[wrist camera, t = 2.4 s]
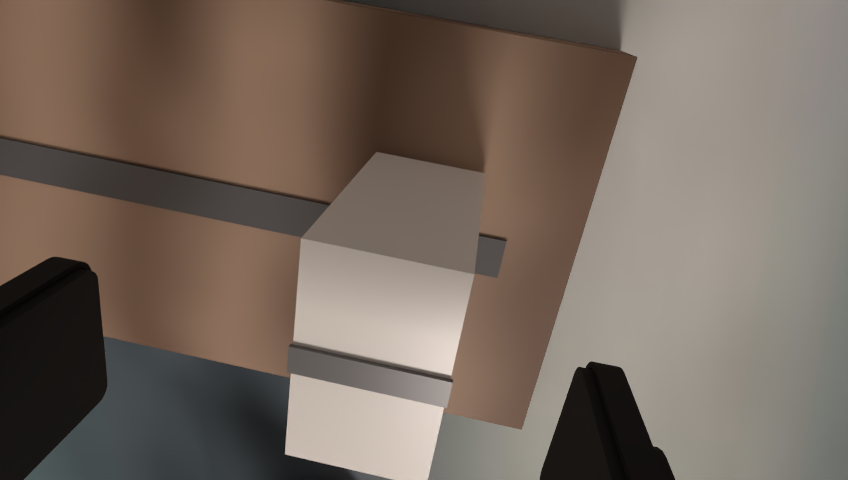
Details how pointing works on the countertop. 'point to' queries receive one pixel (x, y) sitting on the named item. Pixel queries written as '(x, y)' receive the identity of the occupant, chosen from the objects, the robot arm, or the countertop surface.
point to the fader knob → (382, 316)
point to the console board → (291, 163)
